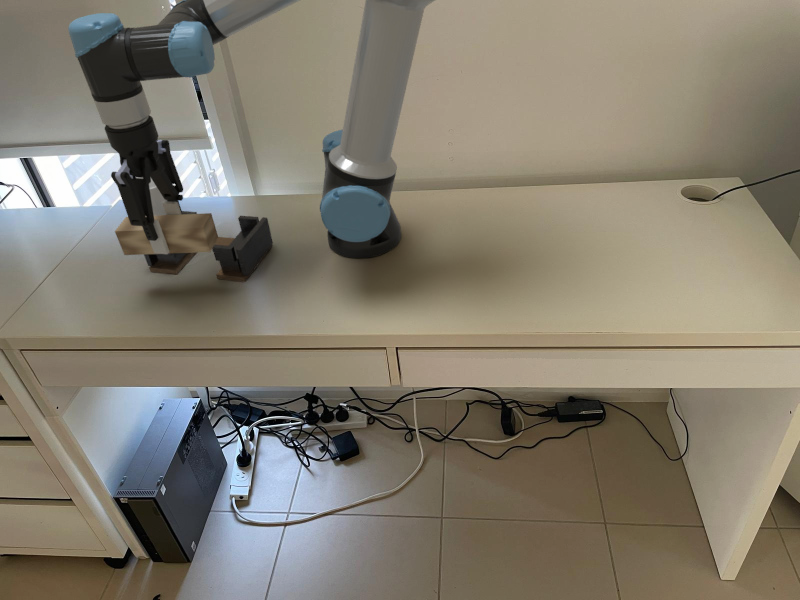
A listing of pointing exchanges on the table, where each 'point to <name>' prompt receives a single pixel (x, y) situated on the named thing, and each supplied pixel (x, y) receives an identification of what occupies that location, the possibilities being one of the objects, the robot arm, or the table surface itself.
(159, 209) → the mug
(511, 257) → the table surface
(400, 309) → the table surface
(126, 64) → the robot arm
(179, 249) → the rail
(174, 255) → the brackets
